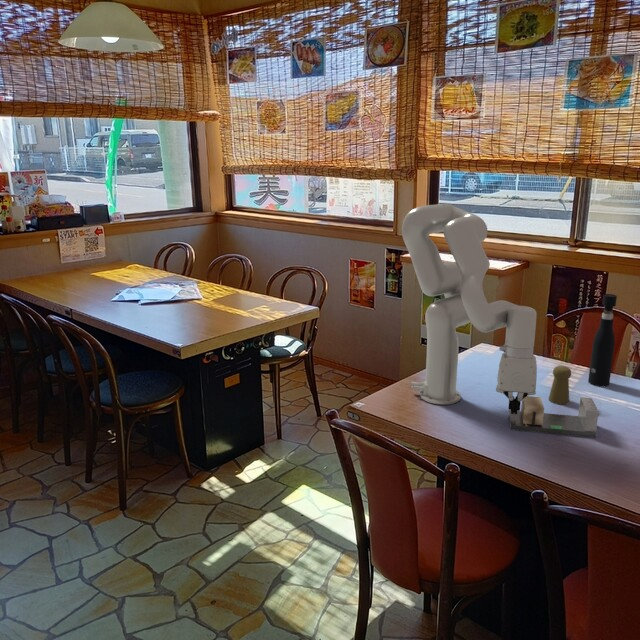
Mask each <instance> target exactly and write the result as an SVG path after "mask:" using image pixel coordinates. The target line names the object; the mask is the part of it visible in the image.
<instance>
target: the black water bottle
mask: <svg viewBox="0 0 640 640" xmlns="http://www.w3.org/2000/svg"><path fill="white" fill-rule="evenodd" d="M617 299H618V295H616V294H611V293H606V294H603V298H602V306H603V307H604V308H603V312H602V313H601V317H600V320H599V321H600V322H599V327H598V328H597V331H596V332H595V335H594V338H593V340H592V349H591V357H590V364H589V372H588V381H587V382H588V384H590V385H592V386H595V387H600V386H603V388H604V386H605V387H608V386H610V381H611V376H612V375H611V373H612V367H613V360H614V351H615V346H616V345H615V344H616V337H615V334H614V333H615V332H614V328H613V327H614V313H613V312H614V310H613V309H614V307H616V306H617V305H616V304H617Z"/></svg>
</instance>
